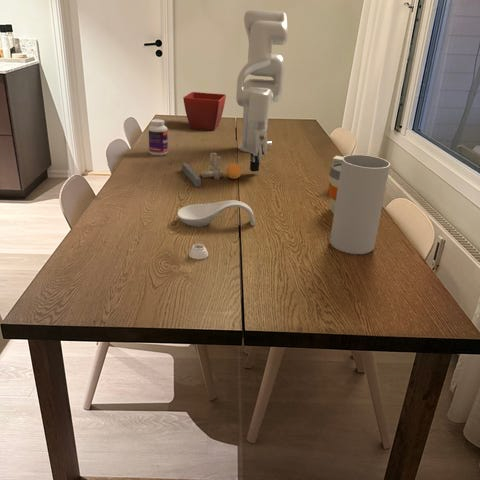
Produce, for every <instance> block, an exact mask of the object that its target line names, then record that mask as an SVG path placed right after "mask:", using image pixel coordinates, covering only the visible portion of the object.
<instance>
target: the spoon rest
mask: <svg viewBox="0 0 480 480" xmlns="http://www.w3.org/2000/svg"><path fill="white" fill-rule="evenodd" d="M231 208H240V209H242V210H244V211H245V212H247V214H248V215H249V216H248V217H249V223H250V226H252V227H254V226H255V225H256V220H255V216H254V211H253V209H252V208H251V206H250V205H248V204H247V203H245V202H243V201H240V200H236V199H235V200H233V199H230V200H222V201H217V202H210V203H209V202H208V203H200V204H199V203H197V204H189V205H185V206H183V207H181V208H179V209H178V211H177V213H176V216H177V218H178V219H179V221H181V222H182V223H184V224H186V225H188V226H191V227H205V226H207V225H208V224H210V223H211V222H213V220H215V218H217V217H218V216H219V215H221V214H222V213H223V212H224V211H226V210H228V209H231ZM204 225H205V226H204Z"/></svg>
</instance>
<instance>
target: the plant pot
mask: <svg viewBox="0 0 480 480" xmlns="http://www.w3.org/2000/svg"><path fill="white" fill-rule="evenodd" d="M226 95H227V94H224V93H209V92H199V91H198V92H197V91H191V92H190V93H188V94H186V95H185V96H183V104H184V110H185V114H186V117H187V118H186V119H187V121H188V124H189V127H190V129H191V130H198V129H202V130H201V131H210V132H211V131H212V132H213V131H215V130H216V129H217V128H218V127H219V125H220V123H221V119H222V117H223V113H224V108H225V103H226V98H227V96H226Z"/></svg>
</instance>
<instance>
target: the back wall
mask: <svg viewBox="0 0 480 480" xmlns="http://www.w3.org/2000/svg"><path fill="white" fill-rule="evenodd" d="M181 166H182V167H181V168H182V170H181V171H182V172H183V173H184V174H185V175H186V177H187V178H188V180H190V182H191V183H192V182H193V183H192V184H193V185H194V186H195V187H196V188H200V187H201V181H202V178H201V177H200V176H199V175H198V174H197V173H196V172H195V171H194V169H192V167H191V166H189V164H188V163H186V162H182V164H181Z"/></svg>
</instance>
